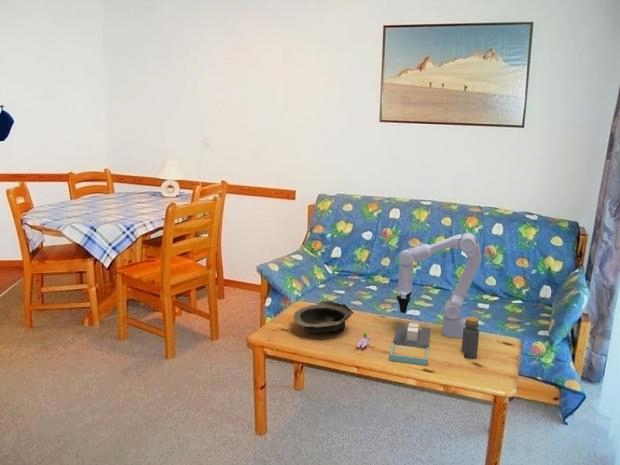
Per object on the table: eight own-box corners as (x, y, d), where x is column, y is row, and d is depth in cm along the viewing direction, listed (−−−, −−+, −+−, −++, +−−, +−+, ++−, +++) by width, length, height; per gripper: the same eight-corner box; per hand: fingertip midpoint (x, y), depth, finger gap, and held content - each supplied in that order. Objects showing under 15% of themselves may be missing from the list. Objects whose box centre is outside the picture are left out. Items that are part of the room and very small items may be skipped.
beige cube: (417, 337, 222) (418, 328, 221) (416, 341, 218) (417, 331, 217) (407, 336, 223) (408, 327, 222) (406, 340, 219) (407, 330, 218)
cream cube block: (418, 332, 226) (419, 323, 226) (417, 336, 223) (418, 327, 222) (408, 331, 227) (409, 322, 227) (407, 335, 224) (408, 326, 223)
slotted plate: (430, 334, 228) (430, 328, 228) (428, 352, 211) (428, 345, 211) (397, 330, 232) (397, 324, 231) (392, 348, 215) (393, 340, 214)
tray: (428, 352, 211) (428, 346, 211) (426, 365, 200) (427, 359, 200) (392, 348, 214) (393, 342, 214) (389, 361, 203) (389, 354, 203)
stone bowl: (361, 325, 236) (361, 306, 233) (332, 349, 216) (332, 328, 213) (313, 312, 249) (312, 294, 246) (281, 334, 229) (280, 314, 226)
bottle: (474, 360, 206) (477, 322, 203) (459, 356, 209) (462, 319, 206) (478, 354, 211) (482, 317, 207) (463, 350, 214) (466, 314, 210)
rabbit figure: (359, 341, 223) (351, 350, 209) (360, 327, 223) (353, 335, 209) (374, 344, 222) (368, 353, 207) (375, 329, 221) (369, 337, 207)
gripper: (397, 273, 235) (396, 303, 238) (394, 282, 221) (392, 314, 224) (414, 274, 233) (412, 304, 236) (411, 284, 220) (410, 316, 222)
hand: (403, 309), depth 230 cm, fingers open, 7 cm apart
